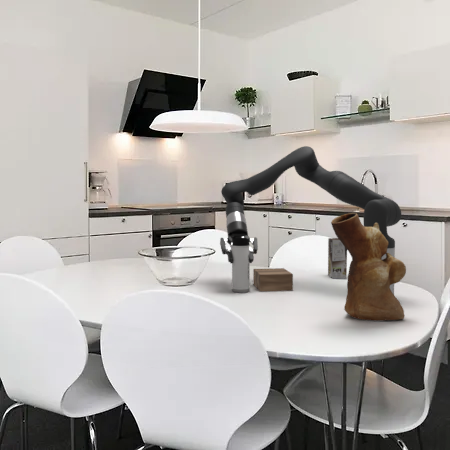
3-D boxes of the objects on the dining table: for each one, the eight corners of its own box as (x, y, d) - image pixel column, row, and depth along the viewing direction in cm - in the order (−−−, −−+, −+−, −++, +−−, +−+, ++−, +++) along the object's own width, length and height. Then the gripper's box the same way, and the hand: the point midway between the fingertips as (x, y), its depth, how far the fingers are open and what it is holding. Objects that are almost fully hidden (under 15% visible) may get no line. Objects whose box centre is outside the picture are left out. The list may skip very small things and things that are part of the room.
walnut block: (292, 290, 188) (292, 274, 187) (260, 291, 186) (260, 274, 186) (283, 283, 202) (283, 268, 201) (253, 284, 200) (253, 268, 200)
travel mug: (228, 290, 188) (228, 235, 187) (245, 288, 191) (244, 234, 189) (235, 293, 182) (235, 237, 181) (252, 291, 185) (252, 236, 184)
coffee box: (347, 278, 213) (347, 239, 212) (331, 278, 213) (332, 239, 212) (342, 275, 222) (343, 237, 221) (327, 275, 222) (328, 237, 221)
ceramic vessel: (415, 322, 143) (418, 213, 141) (342, 326, 138) (343, 214, 136) (386, 309, 158) (388, 211, 156) (319, 312, 154) (320, 212, 152)
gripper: (218, 220, 191) (222, 255, 180) (256, 219, 193) (262, 255, 182) (217, 233, 197) (220, 268, 186) (254, 232, 199) (259, 267, 188)
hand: (241, 261), depth 184 cm, fingers open, 6 cm apart
